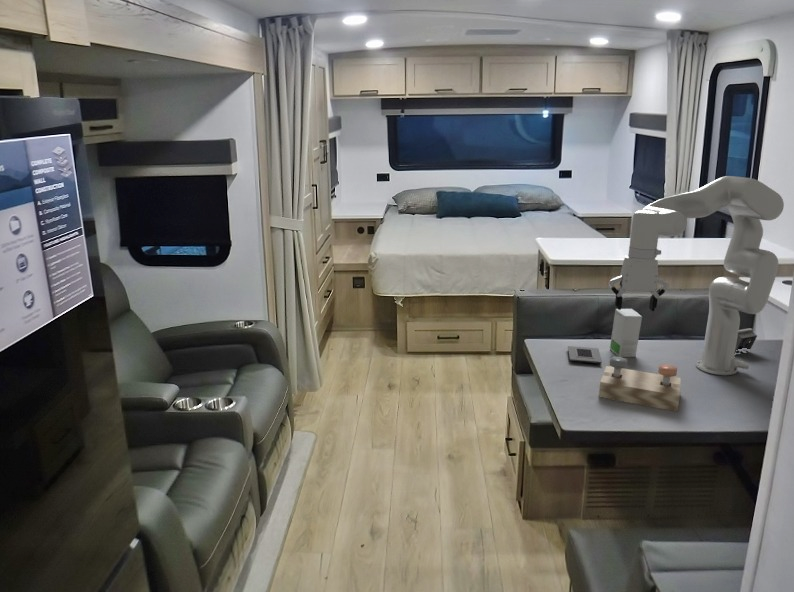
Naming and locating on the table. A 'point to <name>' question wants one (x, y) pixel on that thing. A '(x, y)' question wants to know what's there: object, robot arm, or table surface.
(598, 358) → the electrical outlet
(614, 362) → the grey button
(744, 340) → the electrical switch
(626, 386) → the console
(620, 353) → the skincare box
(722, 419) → the table surface
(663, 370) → the terracotta button
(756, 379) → the table surface
